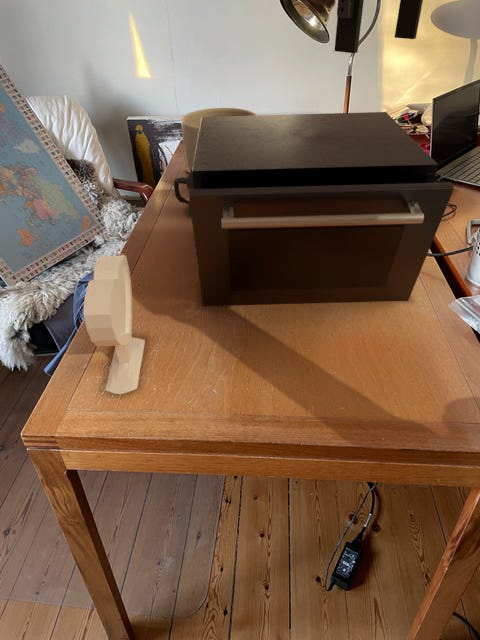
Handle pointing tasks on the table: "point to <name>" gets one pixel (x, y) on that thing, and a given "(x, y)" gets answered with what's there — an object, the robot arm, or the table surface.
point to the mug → (189, 184)
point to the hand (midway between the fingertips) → (377, 44)
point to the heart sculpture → (114, 321)
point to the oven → (307, 151)
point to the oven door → (314, 242)
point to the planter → (193, 126)
